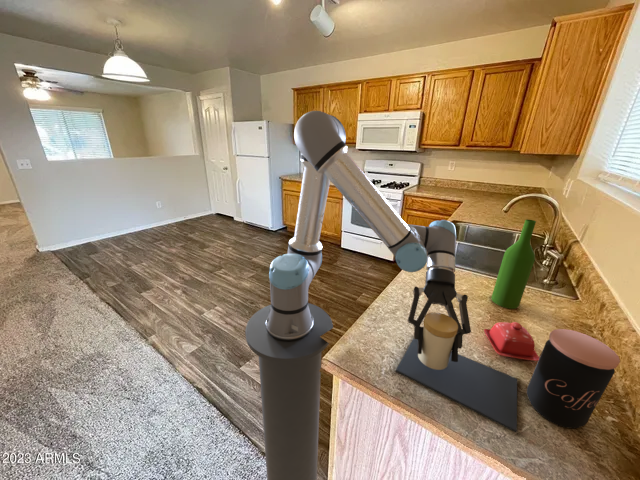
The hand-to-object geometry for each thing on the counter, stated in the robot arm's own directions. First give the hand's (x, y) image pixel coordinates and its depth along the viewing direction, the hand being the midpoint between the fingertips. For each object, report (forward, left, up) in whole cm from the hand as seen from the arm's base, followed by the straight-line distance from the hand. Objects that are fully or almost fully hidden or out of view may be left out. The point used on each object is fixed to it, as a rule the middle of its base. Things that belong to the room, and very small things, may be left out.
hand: (436, 357), depth 66 cm
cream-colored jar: (-1, +3, -4) cm, 5 cm away
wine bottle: (+14, +52, -6) cm, 54 cm away
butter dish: (+16, +24, -6) cm, 30 cm away
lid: (-1, +3, +8) cm, 9 cm away
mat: (+5, +3, -6) cm, 8 cm away
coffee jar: (+25, +7, -6) cm, 27 cm away
